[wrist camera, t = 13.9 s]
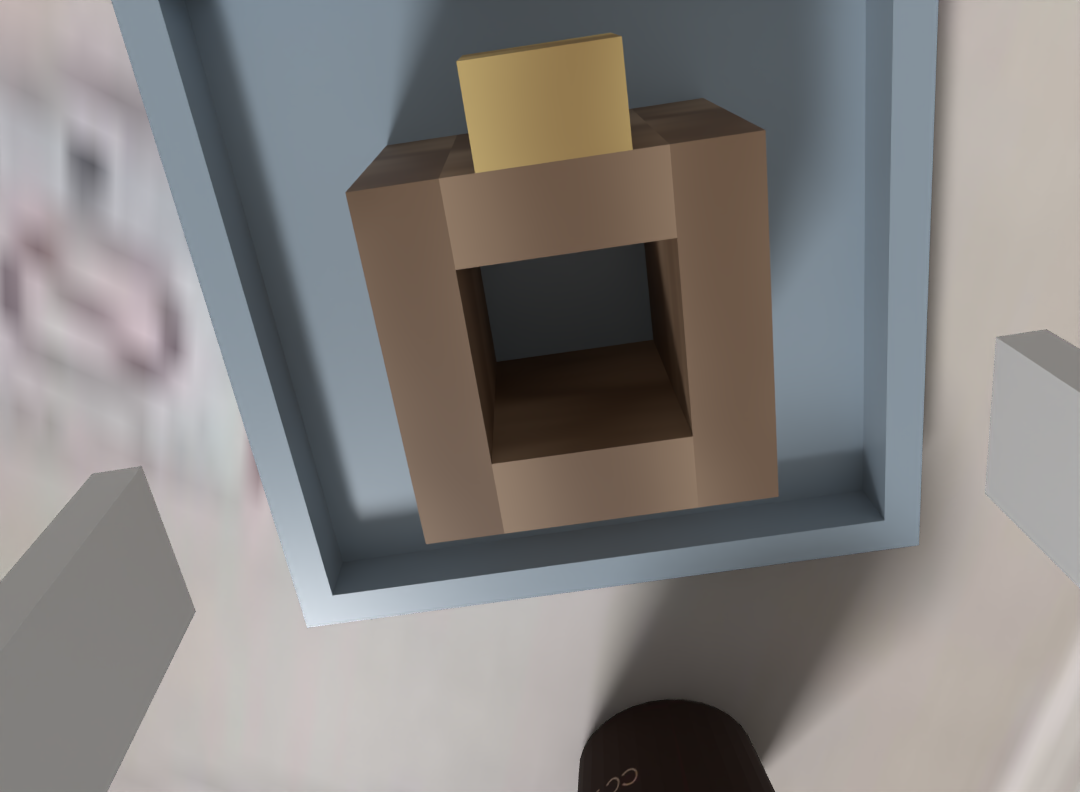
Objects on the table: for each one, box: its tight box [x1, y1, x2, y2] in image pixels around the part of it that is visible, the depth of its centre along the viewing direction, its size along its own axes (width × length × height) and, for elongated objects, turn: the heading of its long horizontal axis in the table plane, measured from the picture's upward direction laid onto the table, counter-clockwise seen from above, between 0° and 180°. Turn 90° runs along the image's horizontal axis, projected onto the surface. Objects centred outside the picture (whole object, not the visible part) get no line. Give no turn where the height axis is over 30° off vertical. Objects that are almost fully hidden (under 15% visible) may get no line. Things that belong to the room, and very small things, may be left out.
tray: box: [111, 0, 938, 628], centre depth 23 cm, size 18×18×2 cm
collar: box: [345, 33, 779, 544], centre depth 21 cm, size 8×10×6 cm
